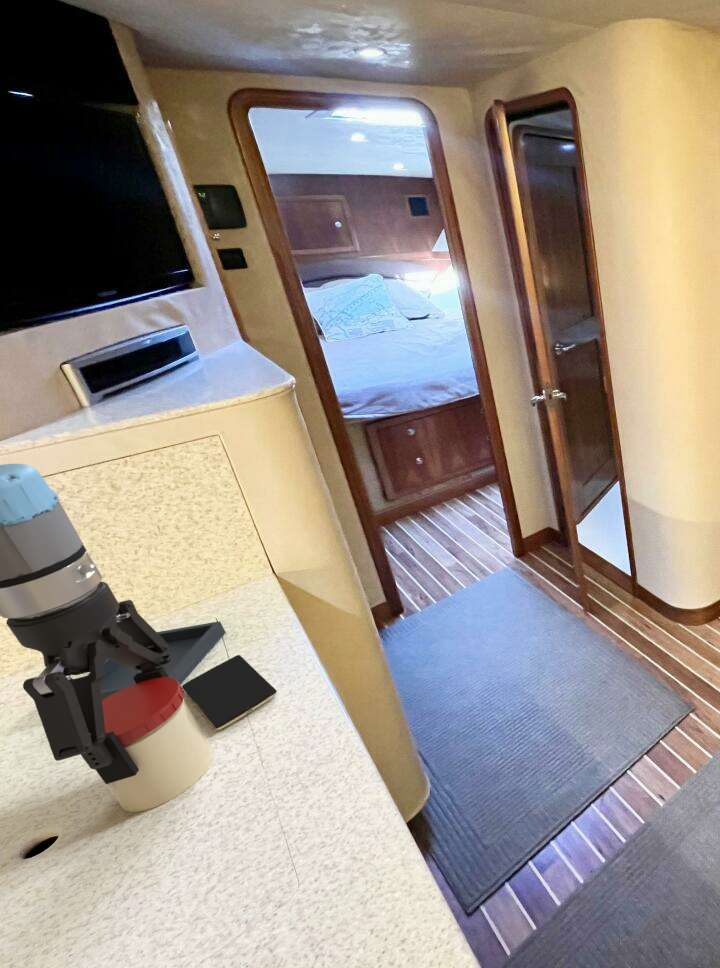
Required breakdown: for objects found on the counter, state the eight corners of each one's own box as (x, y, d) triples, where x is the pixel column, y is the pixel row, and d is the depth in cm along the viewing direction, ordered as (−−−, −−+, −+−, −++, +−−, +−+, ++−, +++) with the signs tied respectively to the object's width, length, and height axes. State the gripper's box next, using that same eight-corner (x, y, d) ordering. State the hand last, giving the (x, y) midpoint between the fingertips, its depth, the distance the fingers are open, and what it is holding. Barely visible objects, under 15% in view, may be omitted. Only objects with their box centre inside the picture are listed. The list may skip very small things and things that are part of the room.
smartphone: (216, 728, 75) (180, 685, 83) (219, 734, 75) (183, 690, 83) (277, 690, 81) (238, 653, 88) (280, 696, 81) (241, 658, 89)
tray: (66, 714, 80) (57, 701, 79) (135, 648, 92) (128, 636, 91) (173, 693, 83) (165, 681, 82) (226, 632, 95) (220, 620, 94)
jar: (100, 820, 65) (51, 755, 61) (153, 754, 73) (114, 692, 69) (186, 801, 67) (145, 736, 62) (229, 738, 75) (195, 676, 71)
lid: (86, 714, 67) (80, 704, 66) (188, 674, 72) (183, 665, 72) (64, 771, 60) (56, 760, 59) (179, 722, 65) (173, 712, 64)
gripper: (24, 658, 51) (132, 812, 59) (155, 539, 70) (223, 667, 78) (-87, 684, 48) (42, 841, 57) (80, 553, 68) (159, 684, 76)
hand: (147, 740), depth 67 cm, fingers closed on lid, 9 cm apart
